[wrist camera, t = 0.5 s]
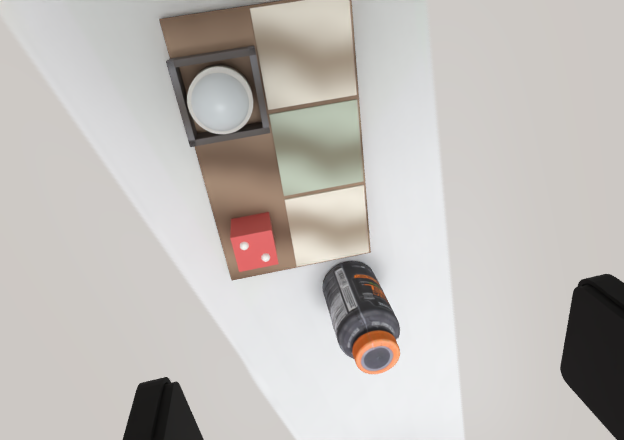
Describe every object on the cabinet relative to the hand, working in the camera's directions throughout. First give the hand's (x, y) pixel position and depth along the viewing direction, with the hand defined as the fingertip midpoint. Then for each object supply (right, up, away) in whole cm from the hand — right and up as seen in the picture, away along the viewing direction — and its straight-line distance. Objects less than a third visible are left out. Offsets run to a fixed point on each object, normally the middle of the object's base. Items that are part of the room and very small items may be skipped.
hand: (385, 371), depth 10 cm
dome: (-9, +13, +23) cm, 28 cm away
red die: (-7, +3, +31) cm, 32 cm away
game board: (-4, +10, +28) cm, 30 cm away
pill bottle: (+2, -3, +36) cm, 36 cm away
